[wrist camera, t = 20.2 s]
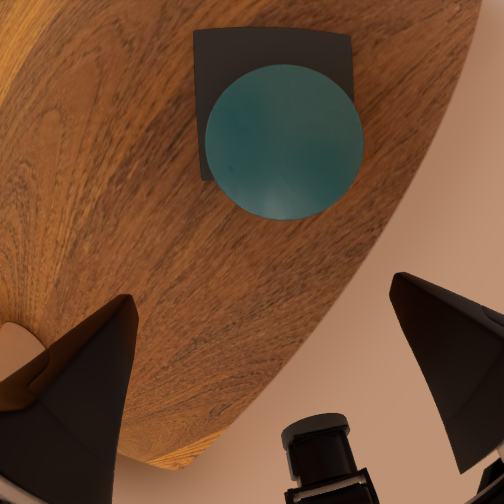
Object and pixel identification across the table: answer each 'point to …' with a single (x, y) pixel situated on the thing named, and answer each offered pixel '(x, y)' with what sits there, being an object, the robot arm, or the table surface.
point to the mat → (261, 63)
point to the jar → (16, 348)
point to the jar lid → (284, 142)
